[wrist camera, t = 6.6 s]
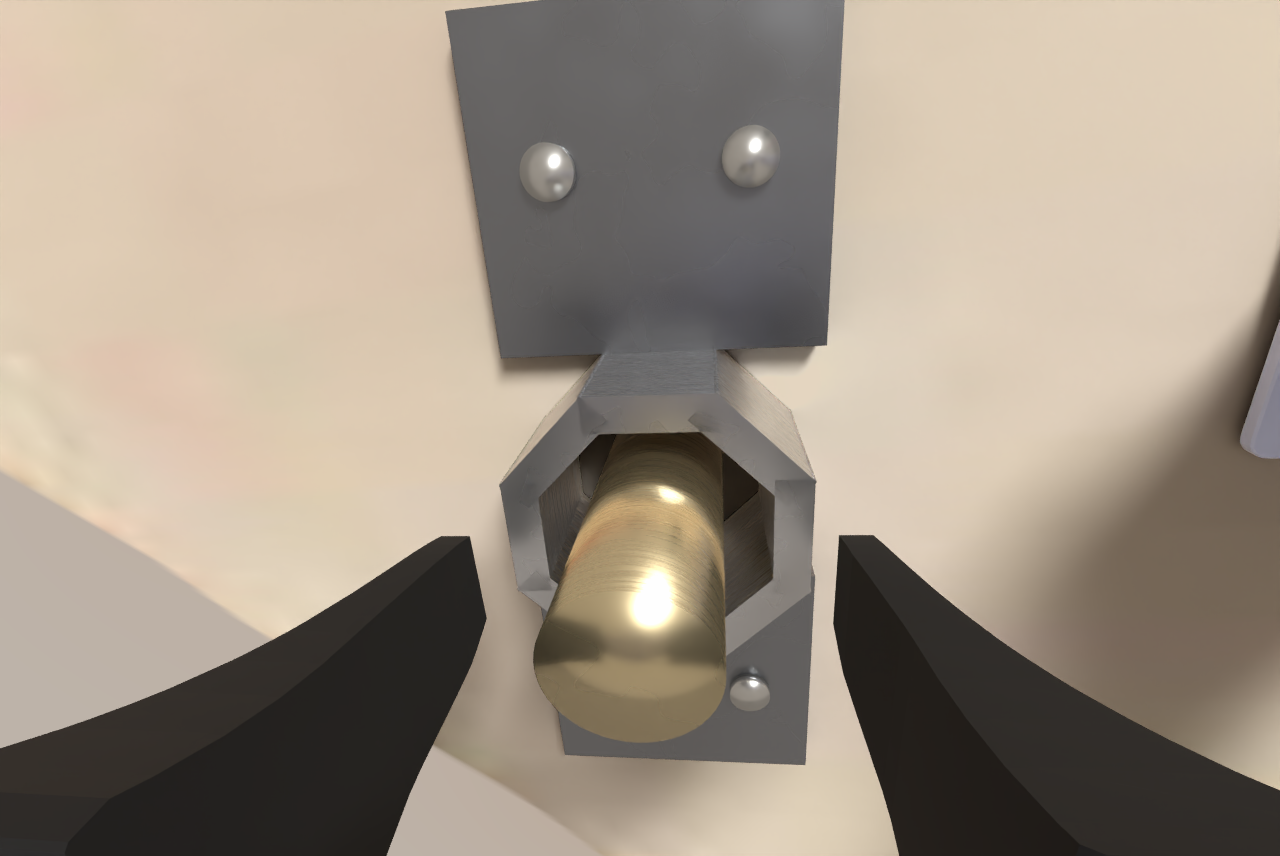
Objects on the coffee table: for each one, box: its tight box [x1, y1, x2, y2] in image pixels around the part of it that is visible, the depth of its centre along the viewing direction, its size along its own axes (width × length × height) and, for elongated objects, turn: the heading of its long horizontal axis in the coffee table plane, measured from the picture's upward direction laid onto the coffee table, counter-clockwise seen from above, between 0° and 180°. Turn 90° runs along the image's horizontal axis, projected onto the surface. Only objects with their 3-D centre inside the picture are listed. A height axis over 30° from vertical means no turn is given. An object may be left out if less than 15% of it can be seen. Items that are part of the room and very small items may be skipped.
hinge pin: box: [533, 432, 726, 743], centre depth 13 cm, size 3×3×8 cm
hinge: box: [445, 0, 844, 765], centre depth 15 cm, size 21×8×4 cm, turn 4°
